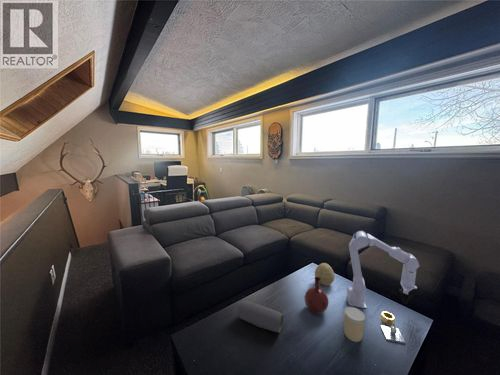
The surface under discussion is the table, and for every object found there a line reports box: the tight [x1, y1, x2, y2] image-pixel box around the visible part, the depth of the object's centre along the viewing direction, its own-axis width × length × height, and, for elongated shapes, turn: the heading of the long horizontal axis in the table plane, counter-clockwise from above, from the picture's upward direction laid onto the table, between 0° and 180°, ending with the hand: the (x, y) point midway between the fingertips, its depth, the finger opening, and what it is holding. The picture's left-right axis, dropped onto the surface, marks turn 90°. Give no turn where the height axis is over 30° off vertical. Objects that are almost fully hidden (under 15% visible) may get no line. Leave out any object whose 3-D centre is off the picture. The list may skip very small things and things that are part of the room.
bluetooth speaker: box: [237, 300, 284, 334], centre depth 104 cm, size 23×9×10 cm, turn 65°
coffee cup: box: [343, 306, 367, 343], centre depth 97 cm, size 9×9×12 cm
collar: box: [380, 311, 396, 326], centre depth 106 cm, size 5×5×4 cm
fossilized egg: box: [314, 262, 335, 286], centre depth 137 cm, size 13×13×15 cm
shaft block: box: [379, 324, 407, 345], centre depth 98 cm, size 8×8×4 cm
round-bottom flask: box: [304, 277, 330, 314], centre depth 113 cm, size 13×13×20 cm
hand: (405, 299), depth 109 cm, fingers open, 7 cm apart
